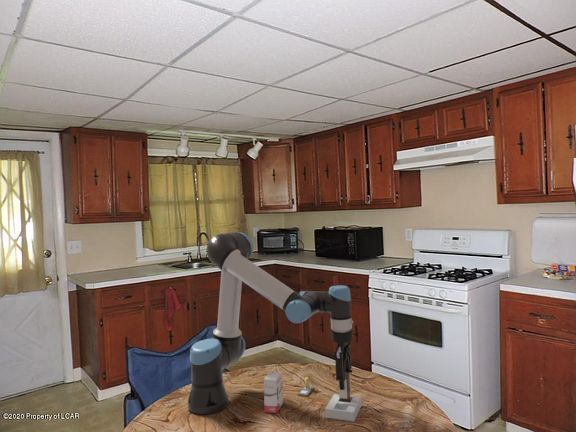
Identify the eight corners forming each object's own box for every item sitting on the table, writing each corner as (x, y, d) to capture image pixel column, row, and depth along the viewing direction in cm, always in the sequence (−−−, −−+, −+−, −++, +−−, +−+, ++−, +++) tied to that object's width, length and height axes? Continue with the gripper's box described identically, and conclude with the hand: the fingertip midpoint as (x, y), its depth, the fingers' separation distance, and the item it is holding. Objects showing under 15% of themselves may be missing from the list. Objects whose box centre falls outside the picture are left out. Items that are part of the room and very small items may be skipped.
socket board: (325, 417, 142) (324, 408, 142) (334, 402, 153) (334, 394, 153) (353, 421, 138) (353, 412, 138) (361, 405, 149) (361, 397, 149)
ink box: (277, 413, 146) (276, 380, 146) (264, 412, 148) (262, 379, 148) (284, 402, 155) (282, 371, 155) (271, 402, 156) (269, 370, 156)
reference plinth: (297, 395, 161) (296, 383, 161) (304, 387, 168) (304, 375, 168) (307, 396, 159) (306, 384, 159) (313, 388, 167) (313, 376, 167)
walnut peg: (340, 409, 147) (339, 375, 147) (342, 405, 150) (341, 372, 150) (349, 410, 146) (347, 376, 146) (351, 406, 149) (349, 372, 149)
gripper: (345, 337, 139) (349, 407, 139) (357, 323, 155) (361, 385, 155) (324, 336, 141) (327, 404, 141) (338, 322, 158) (341, 383, 158)
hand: (345, 394), depth 148 cm, fingers open, 5 cm apart
